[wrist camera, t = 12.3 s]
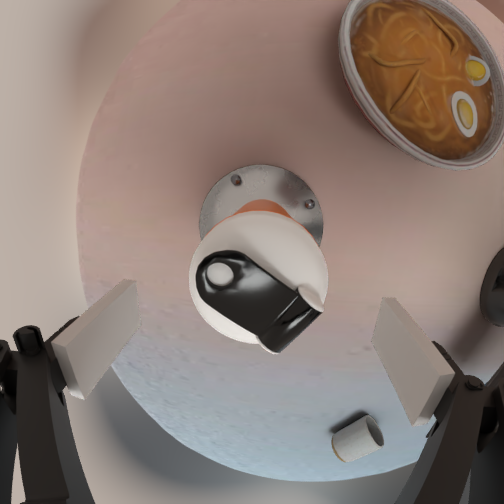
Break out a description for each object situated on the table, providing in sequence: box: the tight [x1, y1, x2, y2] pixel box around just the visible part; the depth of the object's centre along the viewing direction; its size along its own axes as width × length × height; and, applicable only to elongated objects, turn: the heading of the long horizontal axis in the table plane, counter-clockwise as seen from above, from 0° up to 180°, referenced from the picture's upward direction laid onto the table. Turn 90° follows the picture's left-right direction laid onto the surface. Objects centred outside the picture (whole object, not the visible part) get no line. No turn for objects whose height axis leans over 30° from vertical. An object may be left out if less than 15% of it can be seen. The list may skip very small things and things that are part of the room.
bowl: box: [338, 0, 504, 171], centre depth 24 cm, size 23×23×10 cm
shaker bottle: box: [189, 199, 329, 354], centre depth 25 cm, size 9×9×20 cm
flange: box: [199, 165, 323, 246], centre depth 35 cm, size 15×15×1 cm
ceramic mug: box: [332, 415, 384, 462], centre depth 42 cm, size 11×8×8 cm
